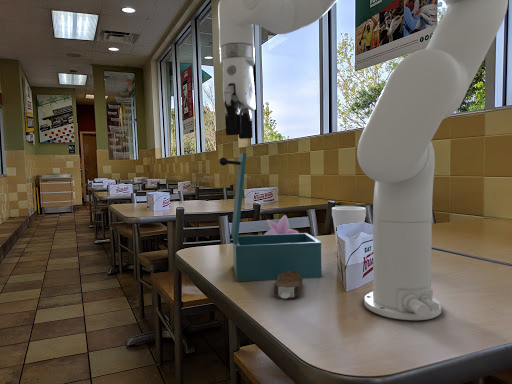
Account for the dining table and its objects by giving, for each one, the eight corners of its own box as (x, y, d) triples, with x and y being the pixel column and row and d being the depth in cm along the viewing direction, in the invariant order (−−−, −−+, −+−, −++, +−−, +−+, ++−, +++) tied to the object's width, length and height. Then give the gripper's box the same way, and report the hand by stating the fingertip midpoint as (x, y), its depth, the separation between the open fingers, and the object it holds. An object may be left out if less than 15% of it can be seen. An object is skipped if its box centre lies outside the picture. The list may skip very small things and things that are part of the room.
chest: (307, 262, 98) (307, 232, 98) (321, 276, 86) (321, 242, 85) (233, 266, 96) (232, 236, 96) (236, 281, 84) (235, 246, 83)
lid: (242, 155, 95) (219, 153, 94) (246, 153, 82) (220, 150, 81) (234, 234, 96) (212, 232, 95) (237, 244, 83) (212, 242, 82)
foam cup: (326, 251, 112) (326, 207, 111) (353, 248, 114) (353, 205, 114) (343, 258, 103) (343, 210, 102) (372, 255, 105) (372, 208, 105)
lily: (256, 255, 112) (266, 229, 108) (257, 234, 123) (266, 209, 118) (294, 266, 113) (306, 241, 109) (292, 244, 124) (302, 220, 120)
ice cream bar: (304, 282, 82) (303, 269, 82) (299, 307, 67) (298, 292, 67) (279, 281, 83) (279, 269, 83) (269, 306, 68) (268, 291, 68)
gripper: (243, 42, 73) (246, 132, 74) (262, 66, 90) (264, 138, 90) (206, 47, 74) (210, 134, 75) (232, 69, 91) (234, 140, 92)
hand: (240, 136), depth 83 cm, fingers open, 9 cm apart
